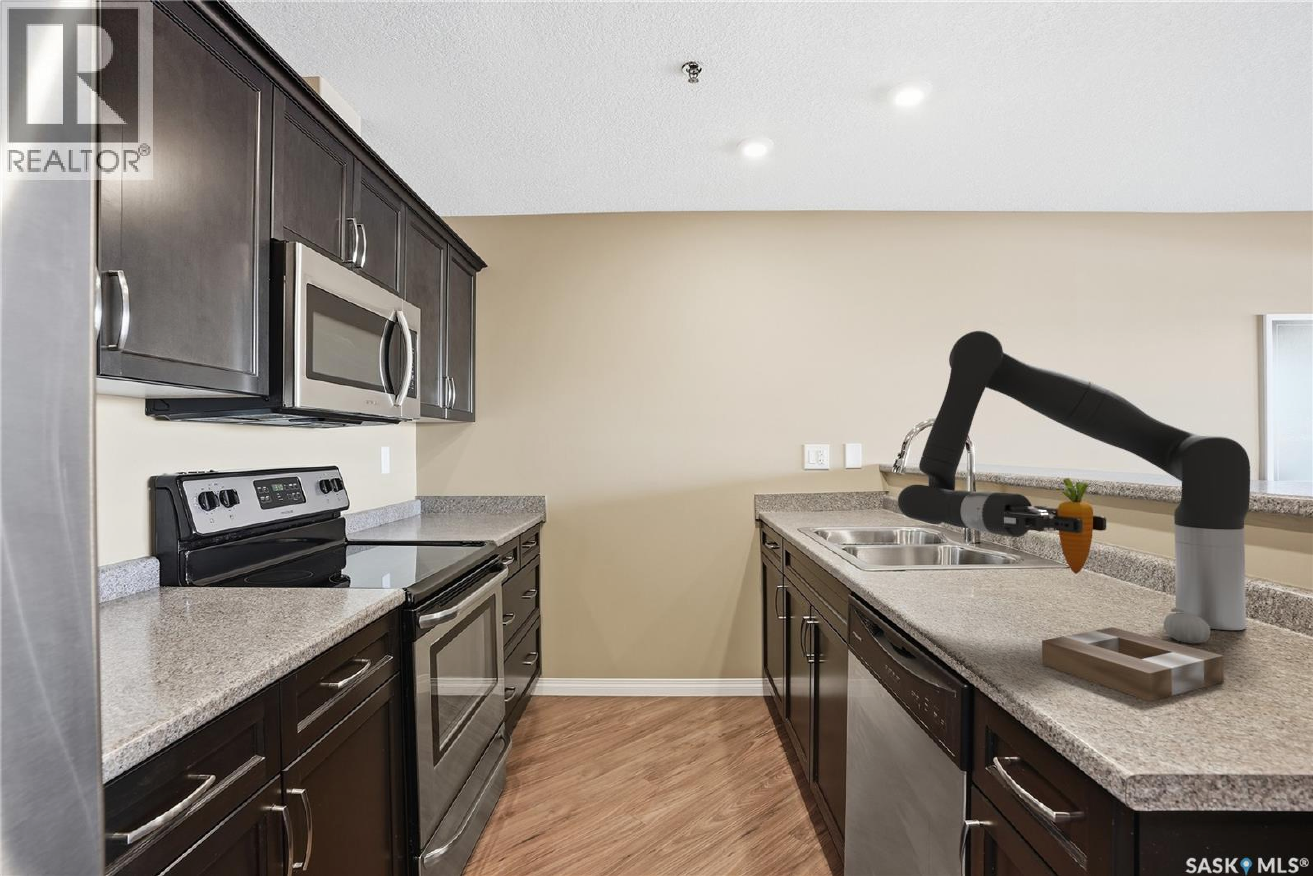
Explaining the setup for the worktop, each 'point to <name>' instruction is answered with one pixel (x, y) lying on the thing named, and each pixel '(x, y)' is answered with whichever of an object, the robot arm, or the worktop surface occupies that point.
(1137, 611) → the worktop surface
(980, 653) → the worktop surface
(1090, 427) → the robot arm
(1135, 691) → the brown and silver frame
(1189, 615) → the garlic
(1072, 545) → the carrot
